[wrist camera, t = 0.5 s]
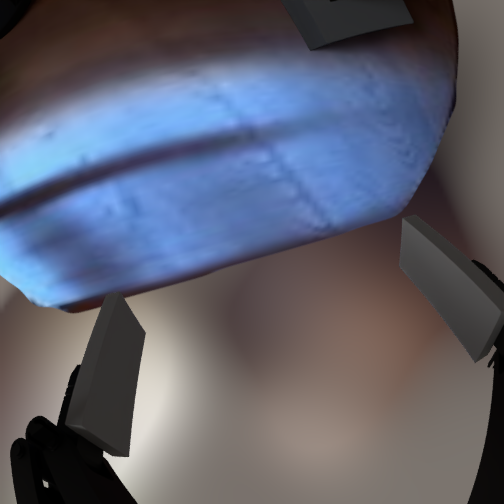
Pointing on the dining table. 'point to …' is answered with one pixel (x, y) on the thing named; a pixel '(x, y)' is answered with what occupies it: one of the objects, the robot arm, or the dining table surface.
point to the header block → (344, 18)
